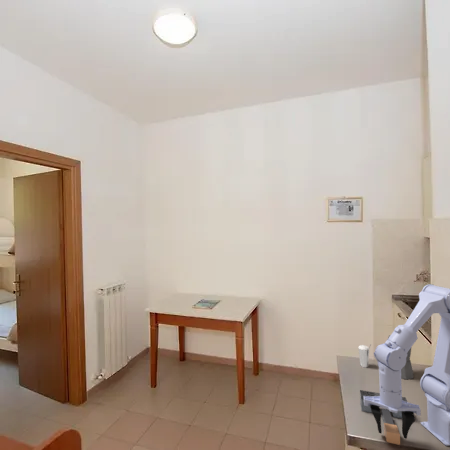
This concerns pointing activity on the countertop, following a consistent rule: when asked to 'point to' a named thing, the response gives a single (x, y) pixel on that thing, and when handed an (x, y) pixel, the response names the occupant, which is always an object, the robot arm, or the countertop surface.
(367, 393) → the grey bridge block
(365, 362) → the milkshake
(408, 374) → the coffeepot
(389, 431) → the plug
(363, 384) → the countertop surface
